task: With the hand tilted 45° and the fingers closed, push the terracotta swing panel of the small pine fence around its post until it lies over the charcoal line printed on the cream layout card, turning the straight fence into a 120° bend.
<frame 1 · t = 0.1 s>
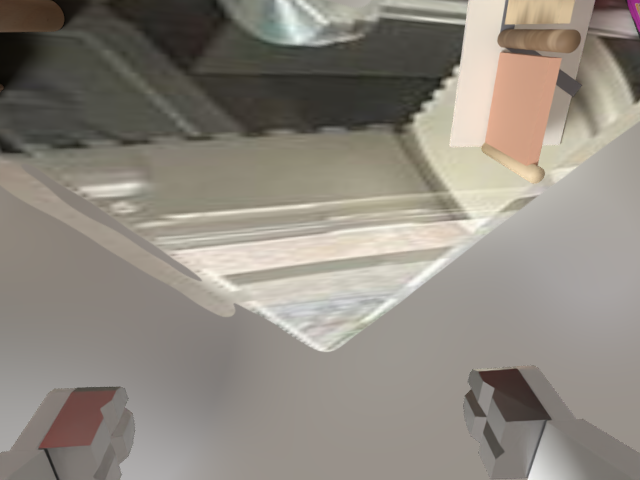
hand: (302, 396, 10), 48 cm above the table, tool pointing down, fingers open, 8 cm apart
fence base: (504, 38, 52), resting on layout card
layout card: (524, 38, 52), on the table
wooden toy: (3, 40, 48), on the table
swing panel: (518, 114, 49), point 7 cm above the table, hinge at 0.0°
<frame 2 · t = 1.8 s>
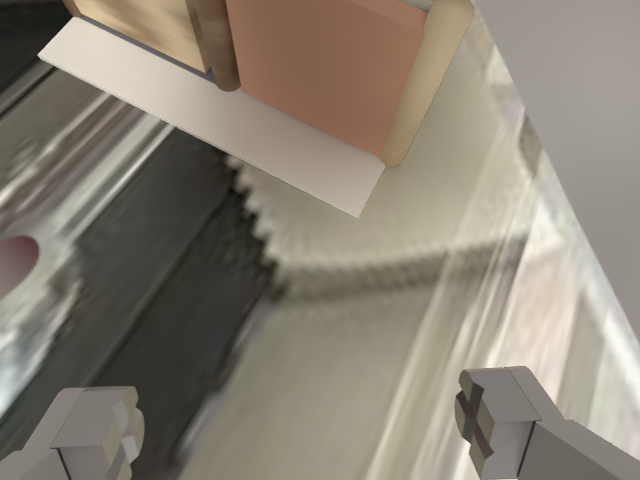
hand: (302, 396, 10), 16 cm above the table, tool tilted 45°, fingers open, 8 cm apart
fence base: (230, 83, 32), resting on layout card
layout card: (247, 60, 32), on the table
swing panel: (329, 60, 24), point 7 cm above the table, hinge at 0.0°
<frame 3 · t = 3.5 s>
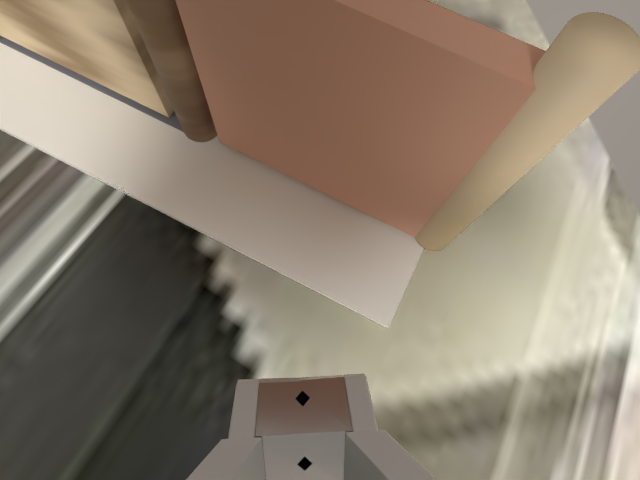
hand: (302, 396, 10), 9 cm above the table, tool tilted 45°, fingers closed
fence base: (203, 129, 23), resting on layout card
layout card: (228, 95, 24), on the table
swing panel: (349, 112, 16), point 7 cm above the table, hinge at 0.0°
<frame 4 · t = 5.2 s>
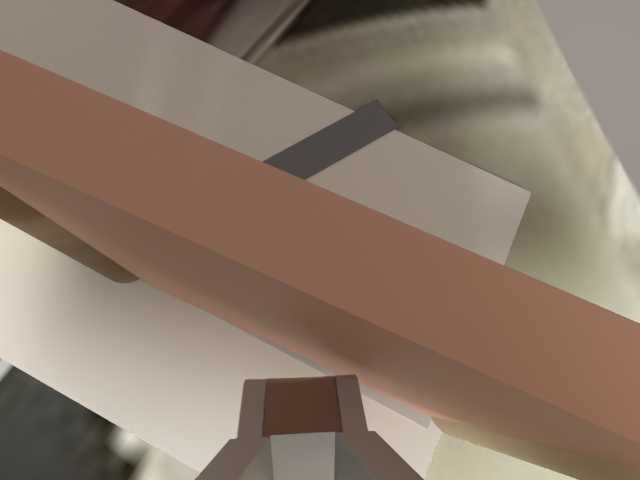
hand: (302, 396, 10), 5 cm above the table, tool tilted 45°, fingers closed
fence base: (131, 260, 17), resting on layout card
layout card: (167, 207, 17), on the table
swing panel: (324, 317, 9), point 7 cm above the table, hinge at 2.9°, touching gripper
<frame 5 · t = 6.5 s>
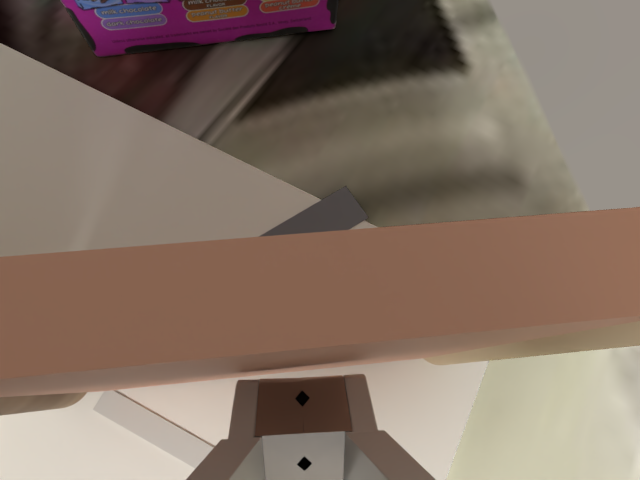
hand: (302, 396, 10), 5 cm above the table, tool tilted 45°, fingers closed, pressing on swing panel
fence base: (69, 377, 15), resting on layout card
layout card: (112, 313, 16), on the table
swing panel: (284, 337, 9), point 7 cm above the table, hinge at 32.6°, touching gripper
candy bar box: (213, 8, 21), on the table
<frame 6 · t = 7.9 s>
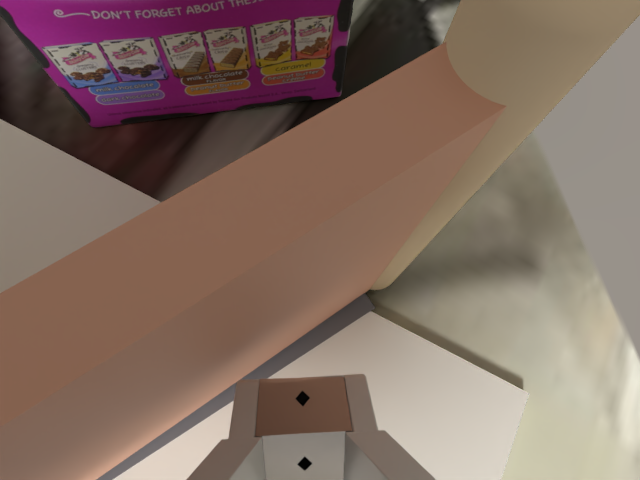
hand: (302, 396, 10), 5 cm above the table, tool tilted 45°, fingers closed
layout card: (101, 414, 15), on the table
swing panel: (226, 326, 9), point 7 cm above the table, hinge at 62.1°
candy bar box: (213, 73, 20), on the table
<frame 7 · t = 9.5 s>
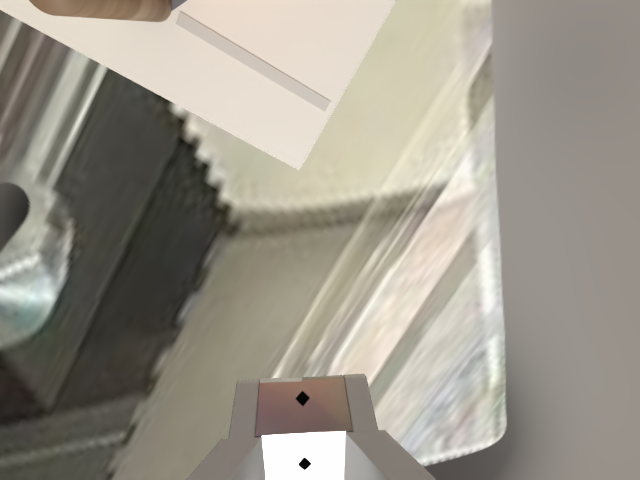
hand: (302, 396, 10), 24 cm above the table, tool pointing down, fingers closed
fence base: (157, 4, 27), resting on layout card
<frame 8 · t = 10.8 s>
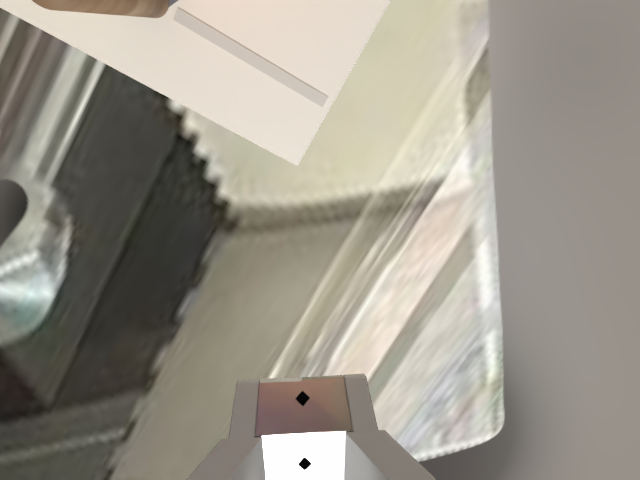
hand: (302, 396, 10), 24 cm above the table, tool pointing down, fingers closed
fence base: (154, 0, 27), resting on layout card
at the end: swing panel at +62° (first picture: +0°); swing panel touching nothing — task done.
